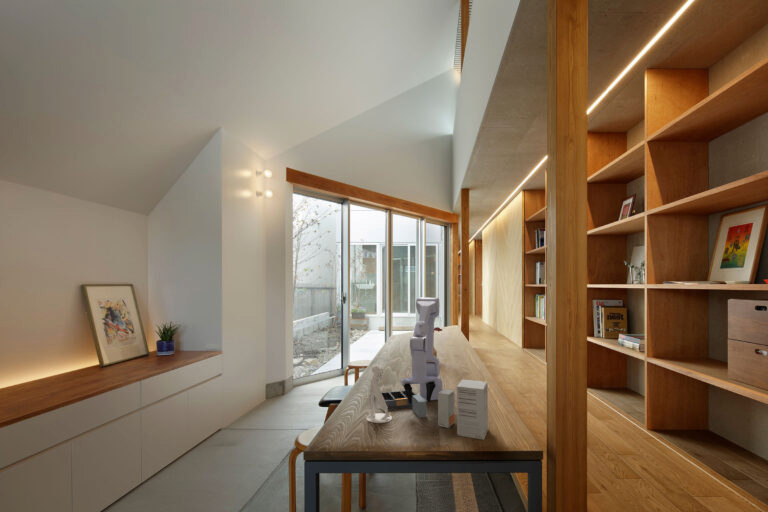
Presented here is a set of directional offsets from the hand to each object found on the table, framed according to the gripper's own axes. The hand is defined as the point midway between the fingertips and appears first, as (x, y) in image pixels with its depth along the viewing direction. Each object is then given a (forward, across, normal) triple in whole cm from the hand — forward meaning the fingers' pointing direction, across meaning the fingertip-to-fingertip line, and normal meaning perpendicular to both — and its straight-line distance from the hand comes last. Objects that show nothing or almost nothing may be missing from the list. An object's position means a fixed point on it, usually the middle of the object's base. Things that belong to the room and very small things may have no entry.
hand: (419, 402), depth 156 cm
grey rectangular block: (+5, 0, 0) cm, 5 cm away
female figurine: (+5, -19, +1) cm, 20 cm away
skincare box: (+5, +6, -13) cm, 15 cm away
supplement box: (+5, +12, -22) cm, 25 cm away
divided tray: (+4, -5, +13) cm, 15 cm away
